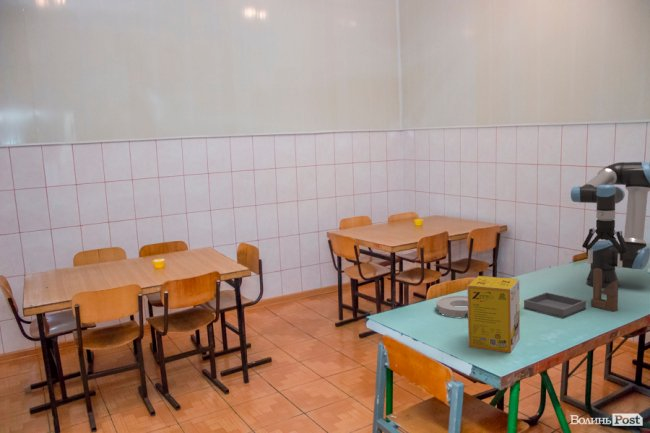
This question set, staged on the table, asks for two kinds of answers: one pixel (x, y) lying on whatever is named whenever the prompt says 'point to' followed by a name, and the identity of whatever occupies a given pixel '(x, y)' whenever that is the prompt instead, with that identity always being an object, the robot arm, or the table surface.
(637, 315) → the table surface
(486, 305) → the packaging box
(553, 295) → the tray
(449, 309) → the ashtray
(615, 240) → the robot arm
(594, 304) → the brown round-handled part
